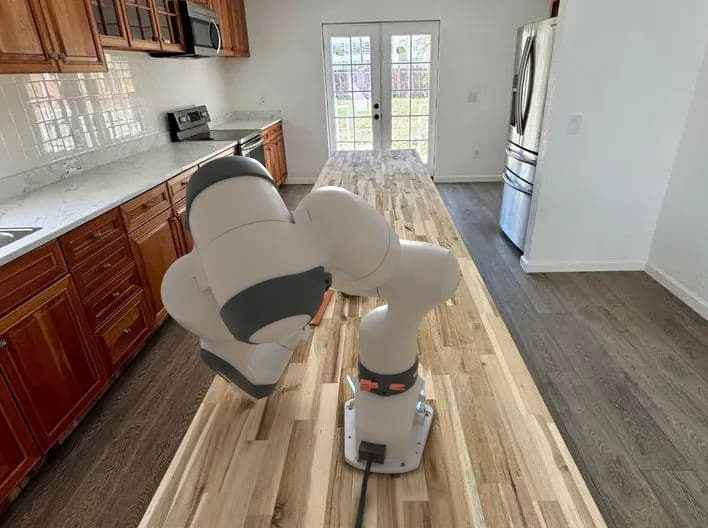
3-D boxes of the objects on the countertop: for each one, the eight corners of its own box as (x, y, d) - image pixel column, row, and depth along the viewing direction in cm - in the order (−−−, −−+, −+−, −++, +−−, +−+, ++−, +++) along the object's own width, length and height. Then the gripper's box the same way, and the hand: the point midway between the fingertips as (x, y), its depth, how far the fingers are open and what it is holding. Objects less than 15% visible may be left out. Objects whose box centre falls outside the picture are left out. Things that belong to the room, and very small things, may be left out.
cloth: (318, 325, 123) (318, 323, 122) (270, 322, 124) (270, 321, 124) (333, 291, 140) (333, 289, 140) (291, 289, 142) (291, 288, 142)
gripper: (207, 334, 95) (234, 344, 108) (297, 340, 92) (313, 350, 105) (213, 306, 97) (238, 320, 110) (301, 311, 94) (316, 325, 107)
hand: (276, 335), depth 108 cm, fingers closed
